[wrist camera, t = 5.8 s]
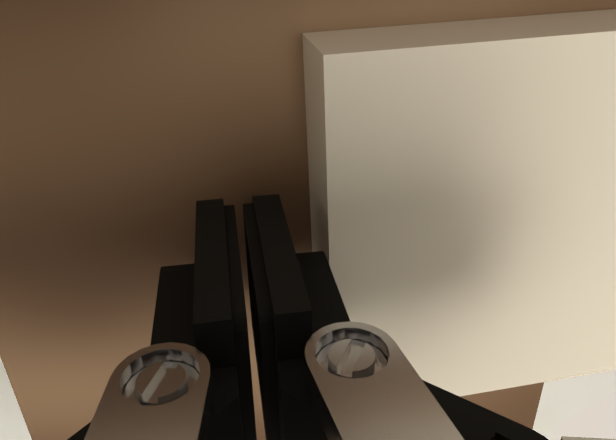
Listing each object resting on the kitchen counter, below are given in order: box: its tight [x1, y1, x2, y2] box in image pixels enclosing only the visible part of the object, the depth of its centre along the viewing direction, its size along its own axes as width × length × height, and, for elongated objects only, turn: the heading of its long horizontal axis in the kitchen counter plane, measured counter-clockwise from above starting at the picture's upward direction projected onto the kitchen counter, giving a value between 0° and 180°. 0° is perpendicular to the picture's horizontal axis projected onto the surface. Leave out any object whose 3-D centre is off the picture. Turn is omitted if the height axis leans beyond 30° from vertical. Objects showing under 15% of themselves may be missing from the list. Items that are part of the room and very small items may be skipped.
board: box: [0, 0, 616, 440], centre depth 13 cm, size 18×14×3 cm
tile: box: [302, 9, 616, 397], centre depth 12 cm, size 8×8×2 cm
